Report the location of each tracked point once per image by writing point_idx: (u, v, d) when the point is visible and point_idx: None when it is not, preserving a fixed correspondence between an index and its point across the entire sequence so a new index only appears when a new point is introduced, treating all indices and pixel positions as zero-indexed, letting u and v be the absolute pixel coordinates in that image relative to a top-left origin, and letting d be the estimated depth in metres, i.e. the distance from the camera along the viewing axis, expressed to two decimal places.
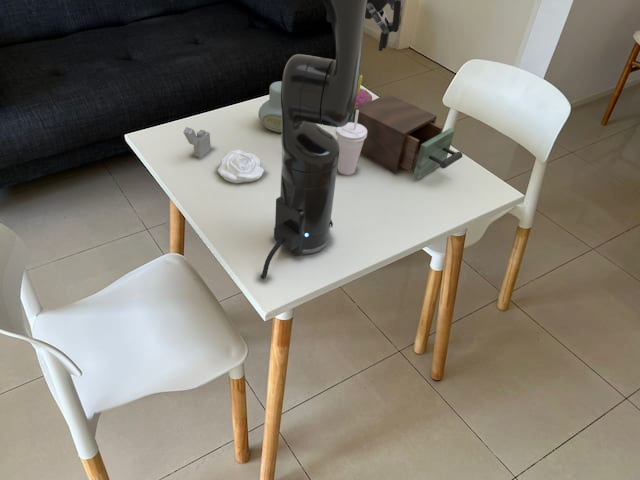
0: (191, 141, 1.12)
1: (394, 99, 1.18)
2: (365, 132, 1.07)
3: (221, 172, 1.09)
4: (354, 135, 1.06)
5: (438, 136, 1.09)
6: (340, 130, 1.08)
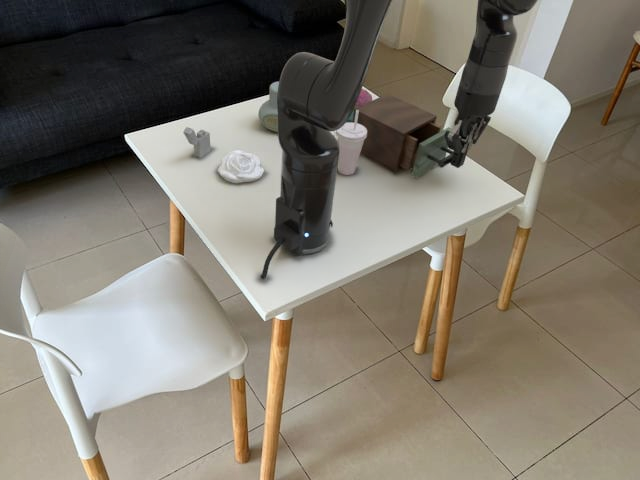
0: (191, 141, 1.12)
1: (394, 99, 1.18)
2: (365, 132, 1.07)
3: (221, 172, 1.09)
4: (354, 135, 1.06)
5: (436, 135, 1.09)
6: (340, 130, 1.08)
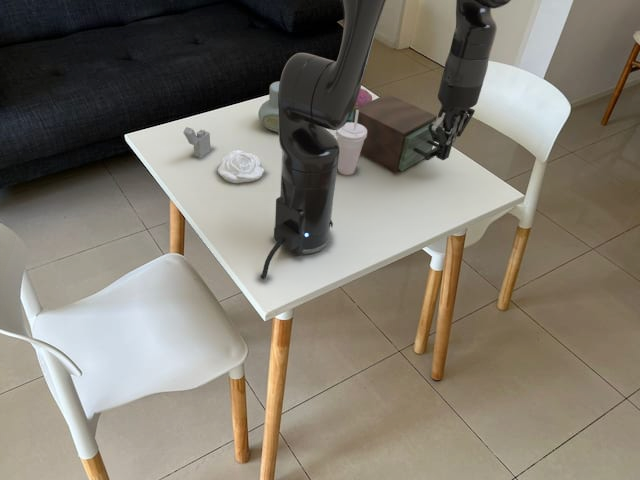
0: (191, 141, 1.12)
1: (394, 99, 1.18)
2: (365, 132, 1.07)
3: (221, 172, 1.09)
4: (354, 135, 1.06)
5: (422, 128, 1.11)
6: (340, 130, 1.08)
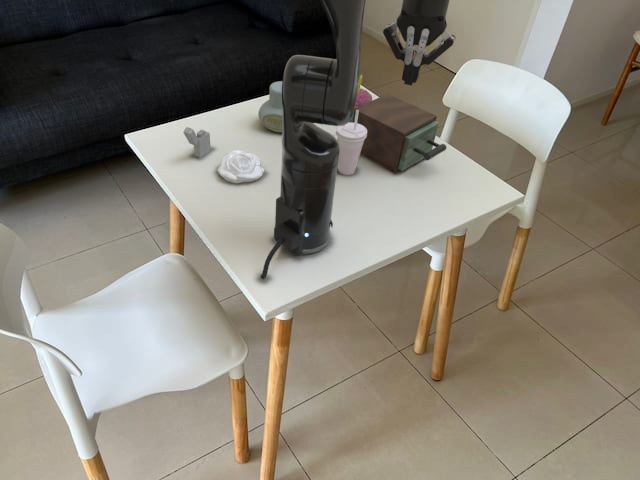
0: (191, 141, 1.12)
1: (394, 99, 1.18)
2: (365, 132, 1.07)
3: (221, 172, 1.09)
4: (354, 135, 1.06)
5: (422, 128, 1.11)
6: (340, 130, 1.08)
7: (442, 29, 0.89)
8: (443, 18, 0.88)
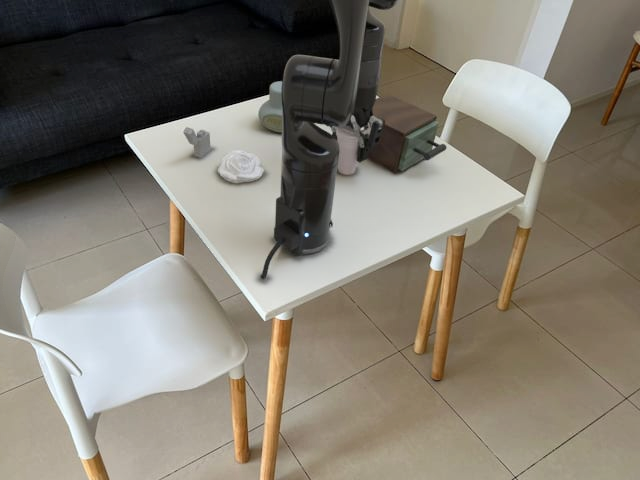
0: (191, 141, 1.12)
1: (394, 99, 1.18)
2: None
3: (221, 172, 1.09)
4: (354, 135, 1.06)
5: (422, 128, 1.11)
6: (340, 130, 1.08)
7: (366, 118, 1.02)
8: (367, 110, 1.01)
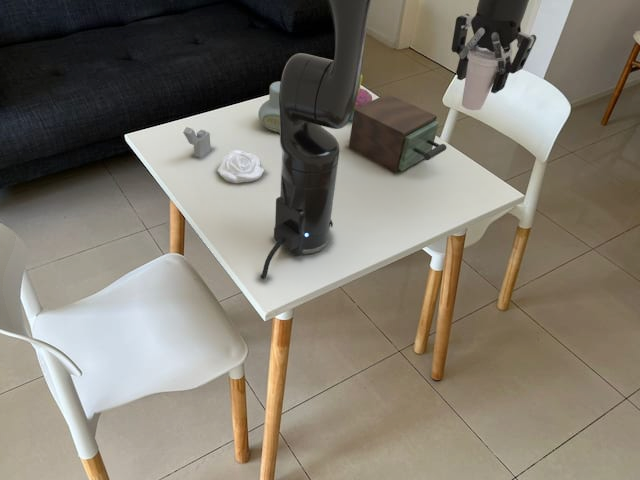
0: (191, 141, 1.12)
1: (394, 99, 1.18)
2: None
3: (221, 172, 1.09)
4: (492, 58, 0.90)
5: (422, 128, 1.11)
6: (474, 54, 0.91)
7: (513, 35, 0.86)
8: (515, 24, 0.85)
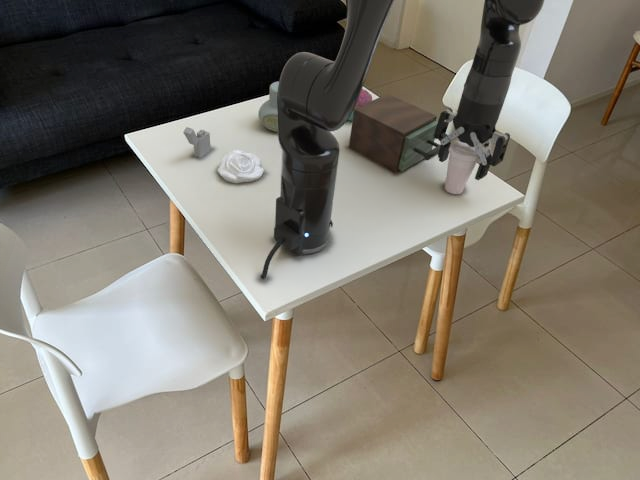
0: (191, 141, 1.12)
1: (394, 99, 1.18)
2: None
3: (221, 172, 1.09)
4: (470, 154, 1.02)
5: (422, 128, 1.11)
6: (454, 149, 1.04)
7: (488, 136, 0.98)
8: (490, 127, 0.97)
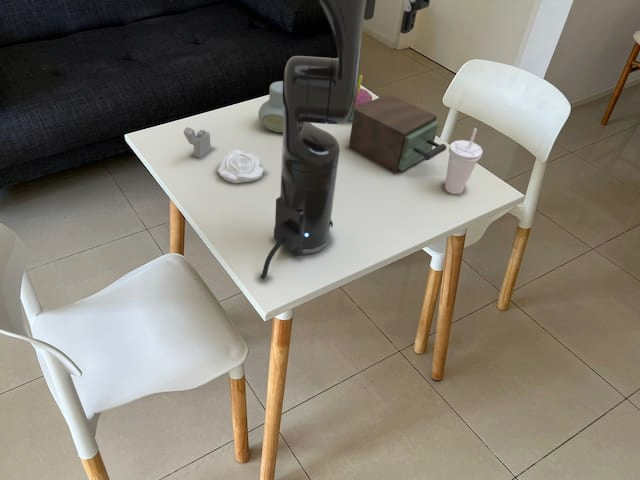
0: (191, 141, 1.12)
1: (394, 99, 1.18)
2: (480, 151, 1.03)
3: (221, 172, 1.09)
4: (470, 154, 1.02)
5: (422, 128, 1.11)
6: (454, 149, 1.04)
7: None
8: None
